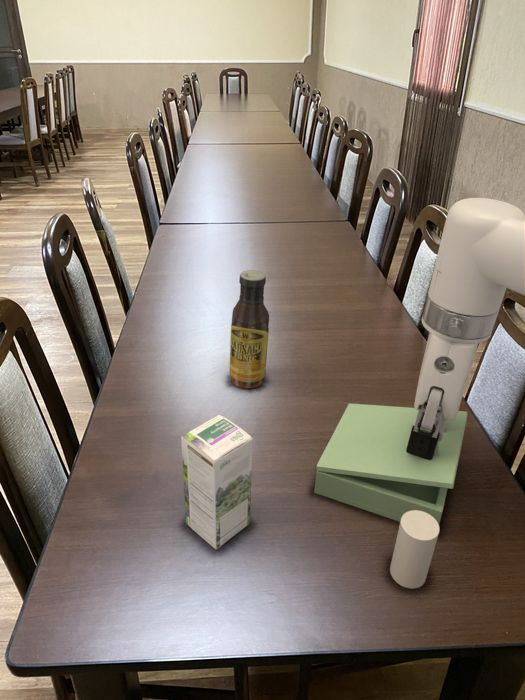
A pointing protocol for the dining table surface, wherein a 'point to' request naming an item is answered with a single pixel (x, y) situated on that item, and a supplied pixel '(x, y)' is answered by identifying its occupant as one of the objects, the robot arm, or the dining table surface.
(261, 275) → the sauce bottle
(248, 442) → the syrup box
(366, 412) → the green box lid
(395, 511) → the green open lid box
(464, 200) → the robot arm
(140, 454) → the dining table surface
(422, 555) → the cylinder
